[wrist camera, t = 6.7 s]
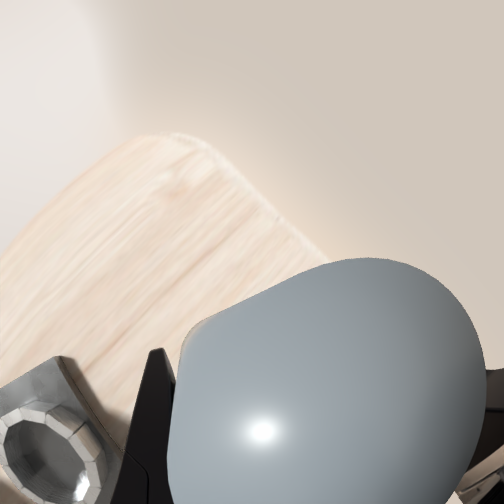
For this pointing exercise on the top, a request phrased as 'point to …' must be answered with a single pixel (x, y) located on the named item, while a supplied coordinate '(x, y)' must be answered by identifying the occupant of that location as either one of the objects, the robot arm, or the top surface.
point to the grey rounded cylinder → (329, 392)
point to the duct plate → (55, 440)
